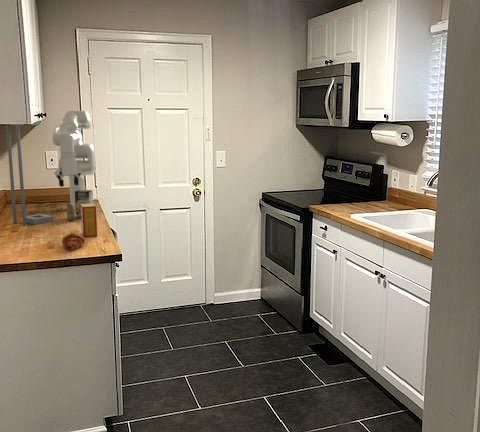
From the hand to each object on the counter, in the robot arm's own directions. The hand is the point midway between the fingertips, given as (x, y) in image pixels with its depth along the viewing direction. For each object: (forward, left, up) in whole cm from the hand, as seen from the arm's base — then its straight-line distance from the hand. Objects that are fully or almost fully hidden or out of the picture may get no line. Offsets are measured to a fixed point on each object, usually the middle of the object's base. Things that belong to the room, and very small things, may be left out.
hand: (69, 185), depth 302 cm
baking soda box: (+16, +39, -21) cm, 47 cm away
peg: (0, 0, -21) cm, 21 cm away
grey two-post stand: (+18, -13, -21) cm, 30 cm away
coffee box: (-13, -5, -21) cm, 25 cm away
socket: (+13, -13, -21) cm, 28 cm away
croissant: (+35, +53, -21) cm, 67 cm away
